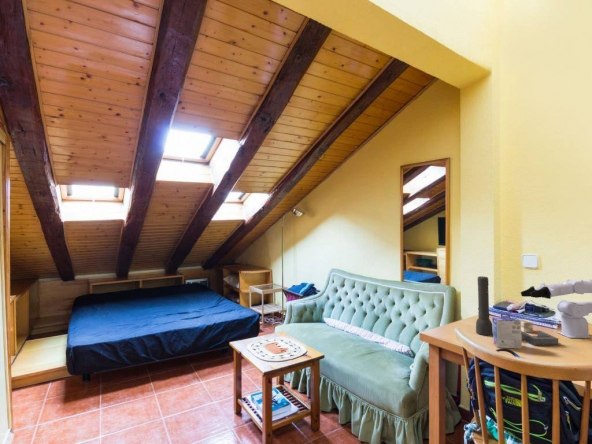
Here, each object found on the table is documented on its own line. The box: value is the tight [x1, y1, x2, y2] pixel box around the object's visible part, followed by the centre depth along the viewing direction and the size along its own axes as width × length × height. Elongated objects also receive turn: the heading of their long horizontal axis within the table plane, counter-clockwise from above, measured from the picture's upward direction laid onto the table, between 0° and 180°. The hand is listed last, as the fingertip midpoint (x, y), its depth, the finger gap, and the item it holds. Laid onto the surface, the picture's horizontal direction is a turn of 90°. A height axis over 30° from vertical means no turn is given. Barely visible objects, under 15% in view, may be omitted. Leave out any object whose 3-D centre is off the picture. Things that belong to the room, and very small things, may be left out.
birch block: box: [519, 319, 534, 333], centre depth 159 cm, size 4×4×5 cm
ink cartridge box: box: [491, 312, 523, 350], centre depth 140 cm, size 10×6×14 cm, turn 78°
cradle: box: [521, 330, 559, 347], centre depth 145 cm, size 10×10×3 cm
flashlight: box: [475, 276, 493, 337], centre depth 156 cm, size 7×28×7 cm
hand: (526, 294), depth 153 cm, fingers open, 7 cm apart
